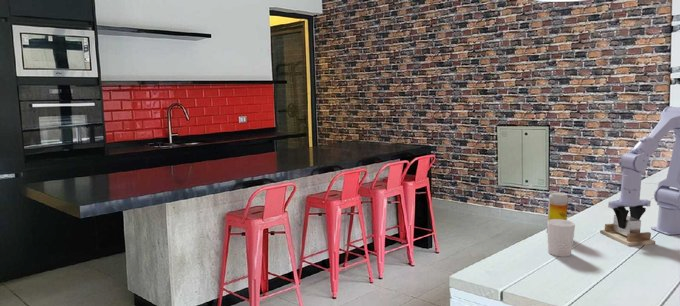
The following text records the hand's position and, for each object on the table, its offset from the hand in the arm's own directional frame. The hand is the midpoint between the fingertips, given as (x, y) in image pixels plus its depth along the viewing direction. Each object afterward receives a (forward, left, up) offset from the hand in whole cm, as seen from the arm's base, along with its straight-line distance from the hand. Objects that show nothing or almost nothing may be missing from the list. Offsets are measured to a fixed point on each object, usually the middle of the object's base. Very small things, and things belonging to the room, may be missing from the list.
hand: (627, 227), depth 180 cm
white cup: (+31, +9, -4) cm, 33 cm away
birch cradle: (0, 0, -4) cm, 4 cm away
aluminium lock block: (0, 0, -2) cm, 2 cm away
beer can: (+22, -7, -4) cm, 23 cm away
